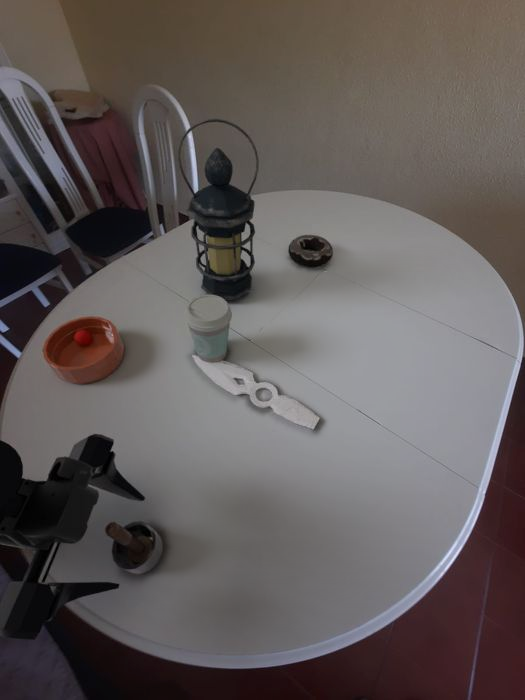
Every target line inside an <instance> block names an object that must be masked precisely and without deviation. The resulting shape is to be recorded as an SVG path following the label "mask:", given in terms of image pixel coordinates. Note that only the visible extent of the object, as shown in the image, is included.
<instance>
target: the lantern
mask: <svg viewBox="0 0 525 700" xmlns="http://www.w3.org/2000/svg"><path fill="white" fill-rule="evenodd" d="M208 123H223V124H226V125H229V126H231V127H233V128H235V129H236V130H238V131H239V132H240V133H242V134H243V136H245V137H246V138H247V140H248V142H249V143H250V144H251V147H252V149H253V151H254V155H255V172H254V176H253V180H252V181H251V183H250V187H249V189H248V191H247V193H246V192H245V191H243V190H241V189H239V188H238V187H236V186H234V185H232V184H231V181H232V177H233V173H234V171H233V170H234V169H233V168H234V166H233V163H232V160H231V159H230V158H229V157H228V156H227V155H226V154H225V152H224V151H223V150H222V149H221V148H219V147H215V148H214V149H213V150H212V152H211V153H210V155H209V156H208V158H207V159H206V161H205V165H204V176H205V178H206V180H207V182H208V184H210V185H207V186H204V187H202V188H201V189H199V190H197V191H196V192H195V191H194V190H193V187H192V186H191V184H190V182H189V181H188V178H187V177H186V174H185V171H184V169H183V166H182V161H181V151H182V150H181V149H182V146H183V143H184V140H185V139H186V137H187V136H188V134H189V133H190V132H191V131H192V130H194V129H195V128H198V127H199V126H201V125H204V124H208ZM177 161H178V162H177V163H178V167H179V170H180V173H181V176H182V178H183V179H184V181H185V183H186V185H187V187H188V190H189V191H190V193H191V194H192V197H191V199H190V201H189V204H188V207H187V209H186V215H187V216H189V217H190V218H191V219H193V225H192V226H191V228H190V229H191V230H190V231H191V234H190V235H191V237H192V239H193V240H194V241H195V246H196V247H195V248H196V253H197V254H196V255H197V256H196V258H195V267H196V269H197V270H198V271H199V272H200V274H201V275H202V281H201V282H202V283H201V287H200V288H201V290H203V291H204V292H205V293H206V294H207V295H216V296H219V297H221V298H223V299H224V300H226V301H235V300H238V299H239V298H241V297H243V296H244V295H246V294H248V293H249V292H251V290H252V281H253V277H252V275H251V272H252V271H253V269H254V267H255V264H256V260H255V255H254V250H253V249H254V248H253V247H254V246H253V245H254V243H253V241H254V239H253V238H254V236H255V234H256V229H255V225H254V223H253V222H252V221H251V220H252V219H253V218H254V211H255V207H256V206H255V205H256V204H255V203H256V202H255V200H253V199H252V196H251V195H250V194H251V192H252V190H253V188H254V185H255V183H256V181H257V176H258V173H259V154H258V151H257V148H256V145H255V143H254V141H253V140H252V138H251V137H250V135H248V133H247V132H246V131H245V130H244V129H243V128H241V127H240V126H239V125H238V124H236V123H233V122H231V121H228V120H225V119H220V118H208V119H204V120H200V121H198V122H197V123H195V124H193V125H192V126H190V127H189V128H188V129H187V130H186V131H185V132H184V133H183V135H182V137H181V139H180V141H179V144H178V147H177ZM246 225H248V227H249V235H248V237H246V238H245V239H244V240H243V239H242V233H245V231H246ZM197 228H198V230H200V232H202V233H203V237H202V240H201V239H199V236H198V230H197ZM248 243H249V248H250V249H248V248H246V247H244V246H245V245H246V244H248ZM200 246H202V247H203V250H200ZM243 252H245V253H246V254H247V255H248V256H249V259H250V260H249V263H250V264H249V266H248V265H247V263H246V261H245V260H244V259H243V258H242V253H243ZM203 256H204V259H205V264H204V263H202V260H201V259H202V257H203ZM202 267H203V268H204V269H203V268H202Z"/></svg>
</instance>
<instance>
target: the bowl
mask: <svg viewBox="0 0 525 700" xmlns="http://www.w3.org/2000/svg"><path fill="white" fill-rule="evenodd" d="M79 330H87V331H88V332H90V333H91V335H92V340H91V342H90V343H89V344H88V345H85V346H81V345H78V344H77V343H76V342H75V340H74V335H75V333H76V332H77V331H79ZM124 352H125V345H124V342H123V340H122V338H121V335H120V333H119V331H118V328H117V327H116V325H115V324H114V323H113V322H112V321H111V320H108V319H106V318H104V317H100V316H94V315H93V316H82V317H78V318H75V319H71V320H68V321H67V322H64V323H63V324H61V325H60V326H58V327H57V328H55V329H54V330H53V331H52V332H50V334H49V335H48V336H47V338H46V339H45V341H44V344H43V347H42V354H43V359H44V360H45V361H46V363H47V364H48V365H49V367H50V368H51V370H53V372H54V373H55V374H56V376H57V377H58V378H59V379H61V380H63V381H65V382H67V383H70V384H76V385H85V384H90V383H95V382H99V381H100V380H102V379H104V378H106V377H107V376H109V375H111V374H112V373H114V371H115V370H116V369H117V368H118V367H119V365H120V364H121V362H122V360H123V358H124Z"/></svg>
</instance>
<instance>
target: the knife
mask: <svg viewBox="0 0 525 700" xmlns="http://www.w3.org/2000/svg"><path fill="white" fill-rule="evenodd" d="M191 357H192V358H193V360H194V362H195V364H196V366H197V367H199V369H200V370H201V371H202V372H203V373H204V375H206V376H207V377H208V378H209V379H210V380H211V381H212V382H213V383H215V384H216V385H218V386H219V387H221V388H222V389H224V390H225V391H227V392H228V393H230V394H232V395H233V396H239V395H249V398H250V401H251V402H252V404H253V405H255V406H256V407H258V408H262V409H263V408H264V409H266V408H271V409H272V410H273V413H275V414H277V415H278V416H280V417H281V416H282V417H283V418H285V419H286V420H287V421H290V422H292V423H294V424H296V425H300V426H302V427H306V428H309V429H311V430H314V429H315V427H316V426H317V424H318V423H319V422H320V416H319V415H317V414H315V413H314V412H313V411H312V410H311V409H310V408H308V407H306V405H304V404H303V403H300V401H297V400H296V398H295V399H294V398H291V397H289V396H287V395H285V394H284V395H283V394H279V393H278V390H277V389H278V388H277V387H276V386H275V385H273V384H272V383H270V382H265V381H261V382H257V381H255V378H254V372H252V371H250V370H248V369H246V368H244V367H242V366H239V365H238V364H234V363H233V362H229V361H226V360H224V359H223V360H221V361H219V362H216V363H208V362H205V361H202V360H201V359H200V358H199V357H198V354H197V355H196V354H191ZM236 379H239V380H243V383H244V384H239V383H238V382H237V381H236ZM261 389H267V390H268V391H270V392H271V394H272V395H271V399H269V400H267V401H262V400H260V399H259V398H257V395H256V393H257V391H258V390H261Z"/></svg>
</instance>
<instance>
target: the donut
mask: <svg viewBox="0 0 525 700" xmlns="http://www.w3.org/2000/svg"><path fill="white" fill-rule="evenodd" d="M287 251H288V255H289V257H290V260H292V261H293V262H294V263H295V264H297V265H298V266H301V267H304V268H313V269H314V268H315V269H316V268H320V267H322V266H326V265H327V264H328V263H329V262H330V261H331V259H332V258H333V256H334V248H333V246H332V244H331V243H330V241H329V240H328V239H326V238H325V237H322V236H319V235H317V234H303V235H300V236H297V237H295V238H294V239H292V240H291V242H290V243H289V245H288V250H287Z"/></svg>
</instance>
